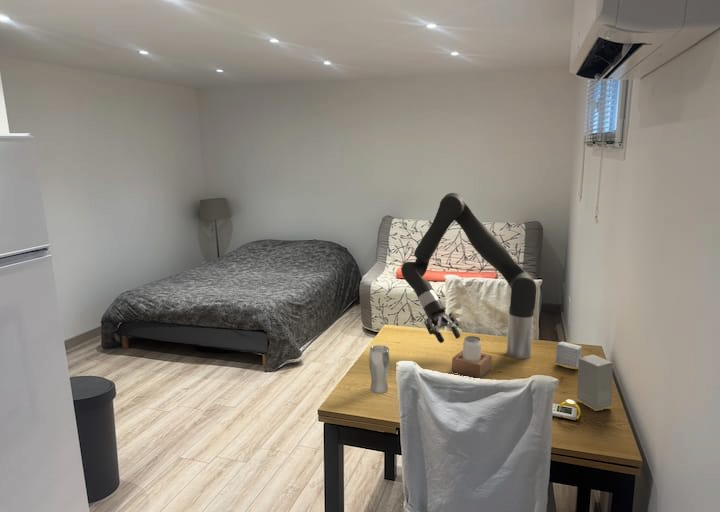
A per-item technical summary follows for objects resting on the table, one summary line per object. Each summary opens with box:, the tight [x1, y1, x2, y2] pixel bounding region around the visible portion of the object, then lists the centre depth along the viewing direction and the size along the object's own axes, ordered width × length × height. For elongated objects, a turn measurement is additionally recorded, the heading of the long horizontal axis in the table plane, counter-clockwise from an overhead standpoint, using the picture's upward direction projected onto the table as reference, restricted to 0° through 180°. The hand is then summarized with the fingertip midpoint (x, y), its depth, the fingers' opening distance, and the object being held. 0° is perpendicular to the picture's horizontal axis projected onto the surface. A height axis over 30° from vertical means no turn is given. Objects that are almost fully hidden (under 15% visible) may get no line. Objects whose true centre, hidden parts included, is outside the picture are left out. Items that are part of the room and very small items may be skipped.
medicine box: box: [555, 341, 583, 367], centre depth 190 cm, size 8×4×9 cm, turn 47°
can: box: [462, 335, 482, 362], centre depth 185 cm, size 6×6×12 cm
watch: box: [558, 398, 581, 420], centre depth 153 cm, size 6×3×6 cm, turn 62°
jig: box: [451, 349, 493, 379], centre depth 186 cm, size 11×11×6 cm
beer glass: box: [368, 344, 391, 395], centre depth 171 cm, size 7×7×15 cm
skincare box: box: [577, 354, 614, 409], centre depth 160 cm, size 8×7×16 cm
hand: (450, 339), depth 194 cm, fingers open, 8 cm apart
